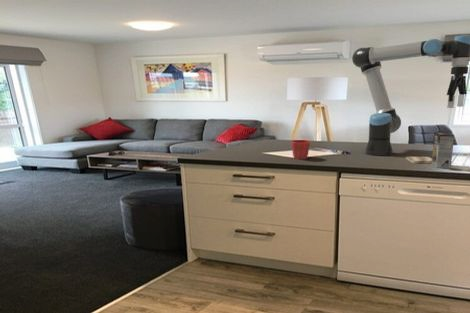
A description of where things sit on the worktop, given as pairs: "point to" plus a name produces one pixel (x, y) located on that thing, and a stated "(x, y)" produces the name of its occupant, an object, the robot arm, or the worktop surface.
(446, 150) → the coffee box
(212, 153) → the worktop surface
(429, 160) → the beige square napkin
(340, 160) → the worktop surface
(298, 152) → the flower pot
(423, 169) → the worktop surface
